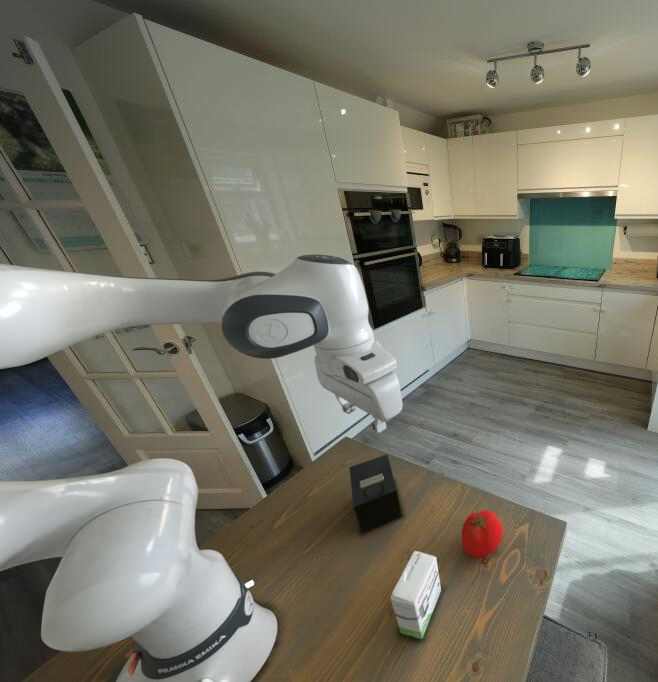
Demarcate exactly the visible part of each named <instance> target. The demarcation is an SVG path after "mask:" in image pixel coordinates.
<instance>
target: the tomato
mask: <svg viewBox="0 0 658 682" xmlns="http://www.w3.org/2000/svg"><path fill="white" fill-rule="evenodd" d="M503 534H504V528H503V524H502V522H501V521H500V520H499V518H498V516H497V515H496V514H495V513H494V512H493V511H491V510H486V509H484V510H481V511H477V512H471V514H469V515H468V517H466V518H465V520H464V522H463V525H462V529H461V547H462V549H463V550H464V552H465V553H466V554H467V555H468V556H469V557H471V558H473V559H480V558H486V557H487V556H490V555H491V554H493V553H494V552H496V550H497V549H498V548H499V545H500V543H501V542H502V538H503Z"/></svg>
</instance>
